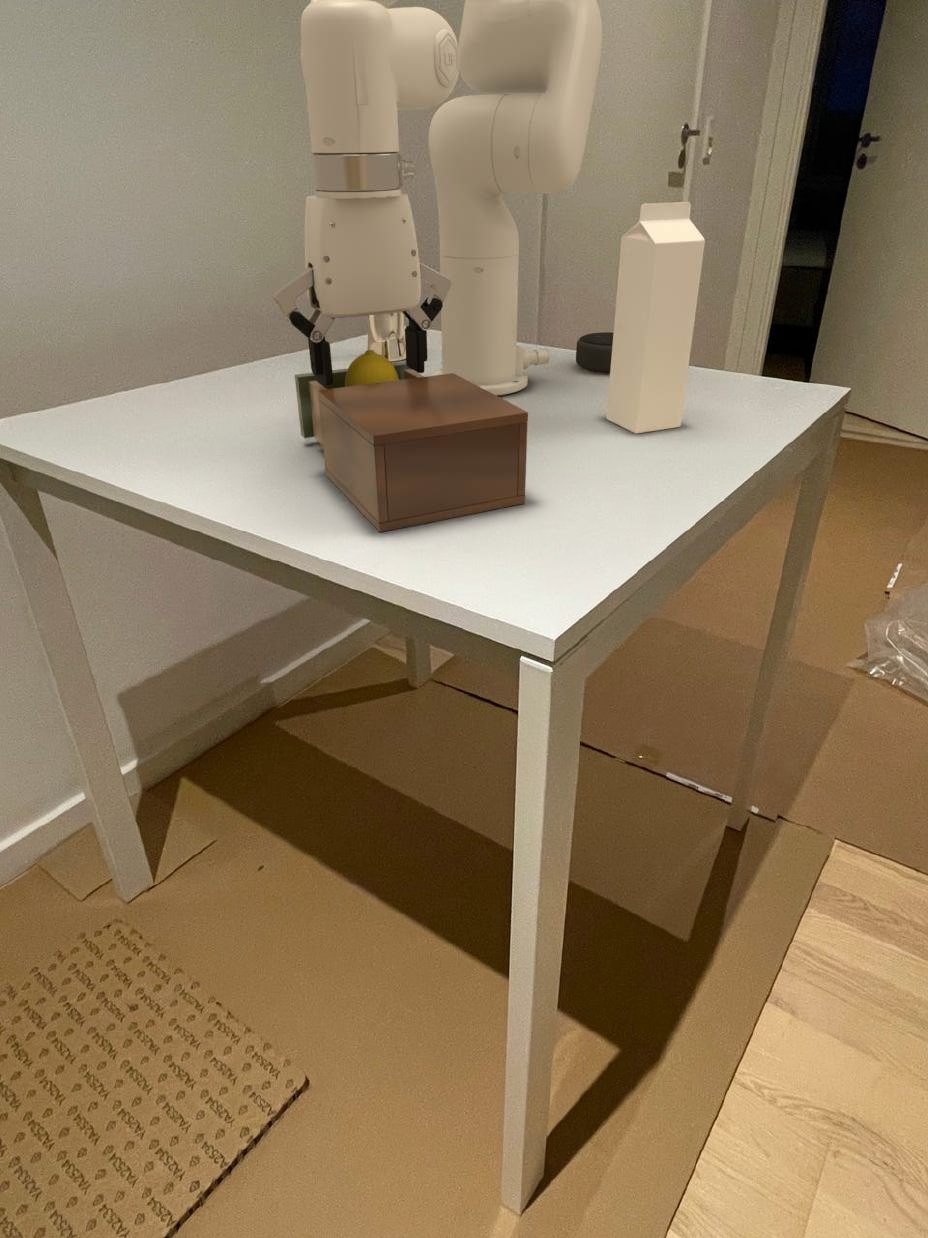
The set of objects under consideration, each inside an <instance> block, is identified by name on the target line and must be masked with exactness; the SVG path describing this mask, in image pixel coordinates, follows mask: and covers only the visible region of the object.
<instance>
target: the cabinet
mask: <svg viewBox="0 0 928 1238" xmlns="http://www.w3.org/2000/svg"><path fill="white" fill-rule="evenodd" d="M318 399H319V410H320V420H321V430H322V440H323V446H322V449H323V460H324V467H325V469H324V471H325V476H326V477H327V478H328V479H329V481H331V482H332V483H333V484H334V486H335V487H336V488H337V489H338V490H339V491H340V492H341V493H342V494H343V495H344V496H345V497H346V498H347V499H348V500H349V501H350V503H352V504H353V506H354V507H355V508H356V509H357V510H358V511H359V512H360V513H361V514H362V516H364V517H365V519H367V520H368V521H369V523H370V524H371V525H372V526H373V527H374V528H375V529H376V530H377V531H378V532H379V533H384V532H388V531H393V530H398V529H403V528H409V527H413V526H418V525H419V526H420V525H424V524H429V523H433V522H438V521H444V520H448V519H454V518H458V517H459V518H460V517H463V516H468V515H474V514H479V513H483V512H489V511H493V510H499V509H504V508H509V507H513V506H518V505H522V504H523V505H525V504H526V481H527V480H526V478H527V477H526V476H527V449H528V422H529V411H527V410H525V409H523V408H521V407H519V406H516V405H515V404H513V403H511V402H509V401H507V400H505V399H504V398H502V397H500V396H499V395H497V396H496V395H494V394H492V393H490V392H488V391H486V390H484V389H482V388H481V387H479V386H477V385H475V384H473V383H471V382H469V381H467V380H465V379H463V378H461V377H460V376H458V375H456V374H454V373H451V374H443V375H435V376H431V375H429V376H428V375H427V376H424V377H420V378H412V379H404V380H396V381H388V382H380V383H372V384H364V385H356V386H349V387H341V388H333V389H325V390H318Z"/></svg>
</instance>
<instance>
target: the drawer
mask: <svg viewBox="0 0 928 1238" xmlns="http://www.w3.org/2000/svg"><path fill="white" fill-rule="evenodd" d="M391 363H392V365H393V366H394V368H395V370H396V372H397V375H398V378H399V380H404V379H412V378H420V377H425V376H424V375H422V374H421V373H418V372H416V371H414V370H412V369H411V368H409V367H407V365H406V361H397V362H391ZM348 368H349V367H348ZM348 368H339V369H332V373H333V383H332V384H331V385H325V384H323V383H322V382H321V381H320V380H318V378H317V375H314V374H313V373H312V372H305V373H297V374H294V383H295V391H296V392H295V393H296V399H297V409H298V416H299V417H298V419H299V426H300V436H302V437H303V439H310V438H314V440H316V441H317V442H318V443H319V444H320V445H321V446H322V447H323V440H322V430H321V420H320V410H319V399H318V390H325V389H333V388H341V387H345V379H346V373H347V370H348Z"/></svg>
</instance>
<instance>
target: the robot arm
mask: <svg viewBox="0 0 928 1238" xmlns="http://www.w3.org/2000/svg"><path fill="white" fill-rule="evenodd" d="M398 1H399V0H310V2H309V4H308V5H307V6H306V7H305V8H304V10H303V11H302V13H301V16H300V17H301V18H300V23H299V24H300V26H299V27H300V40H301V42H300V65H301V70H302V71H301V72H302V76H303V80H304V83H305V84H304V85H305V95H306V105H307V115H308V116H307V117H308V126H309V137H310V148H311V149H310V150H311V153H312V154H311V159H312V169H313V179H314V189H315V195H307V196H306V199H305V209H304V268H305V269H303V270H302V271H301V272H299V273H298V274H297V275H295V276H294V277H293V278H291V279H290V280H288V281H287V282H285V283H284V284H283V285H282V286H280V287H279V288H278V289H276V290H275V291H274V292H273V293H272V298H273V300H274V302H275V303H276V305H277V306H278V308H279V309H280V311H281V312H282V314H283V315H284V317H285V318H286V320H287V321H288V322H289V324H291V325H292V326H293V327H294V328H295V329H297V330H298V331H299V332H300V333H301V334H302V335H303V336H305V338H307V343H308V350H309V362H310V370H311V373H313V374H314V375H317V378H318V380H320V381H321V382H322V383H323V384H325V385H331V384H332V383H333V373H332V370H333V363H332V362H333V361H332V351H331V344H330V342H329V341H327V339H326V334H327V333H328V331H329V330H330V328H331V327H332V324H333V323H334V321H335V319H343V318H355V317H365V316H367V315H377V314H386V313H395V312H402V314H403V315H404V316H405V319H406V320H407V321H408V325H406V326H405V327H404V334H405V347H406V359H405V362H406V365H407V367H409V368H411V369H412V370H413V371H415V372H417V373H419V374H423V373H425V370H426V369H425V362H427V361H428V333H427V332H428V331H429V330H431V328H432V322H433V321H434V320H435V318H436V317H437V316H438V315H439V314H440V326H441V328H440V334H441V335H440V337H441V368H439V369H437V370H435V371H434V372H432V373H431V374H430V376H435V375H443V374H451V373H454V374H456V375H458V376H460V377H461V378H463V379H465V380H467V381H469V382H471V383H473V384H475V385H477V386H479V387H481V388H482V389H484V390H486V391H488V392H490V393H492V394H494V395H496V396H503V395H509V394H513V393H517V392H519V391H522V390H524V389H525V388H526V387H527V386H528V382H529V381H528V380H529V375H528V374H527V373H526V372H525V371H524V370H527V369H529V367H530V366H542V365H547V364H549V363H550V360H551V355H550V351H549V349H547V348H541V349H533V350H531V349H530V348H524V347H521V346H518V345H517V341H518V340H517V339H518V337H517V336H518V307H519V304H518V303H519V302H518V301H519V268H520V267H519V265H520V264H519V263H520V261H519V260H520V258H519V257H520V237H519V235H520V234H519V230H518V227H517V223H516V221H515V220H514V217H513V215H512V214H511V212H510V210H509V209H508V207H507V205H506V203H505V202H504V199H503V198H502V196H501V195H507V194H520V195H521V194H523V195H524V194H525V195H526V194H527V195H549V194H551V195H552V194H560V193H563V192H566V191H567V190H568V189H570V188H571V187H573V185H574V184H575V182H576V180H577V178H578V176H579V173H580V171H581V169H582V168H581V167H582V163H583V159H584V156H585V155H584V154H585V150H586V144H587V140H588V139H587V138H588V134H589V128H590V127H589V126H590V122H591V118H592V117H591V116H592V111H593V105H594V99H595V96H596V95H595V94H596V88H597V83H598V77H599V72H600V65H601V58H602V48H603V23H602V14H601V10H600V7H599V4H598V1H597V0H464V4H463V5H464V6H463V12H462V18H461V24H460V30H459V31H460V32H459V37H458V38H459V39H458V40H457V37H456V34H455V32H454V30H453V29H452V26H451V25H450V23H449V22H448V21H447V20H446V19H445V18H444V17H443V16H442V15H441V14H439V13H438V12H436V11H435V10H432V9H430V8H427V7H422V6H407V7H406V6H405V7H404V6H403V7H393V8H392V7H391V6H392V5H394V4H395V3H397V2H398ZM390 7H391V8H390ZM459 74H460V77H461V79H462V80H463V82H464V83H465V84H466V86H468V87H469V88H470V89H473V91H477V92H480V93H484V94H471V95H463V96H459V97H454V98H453V99H450V100H448V101H447V102H445V101H446V100H447V99H449V96H450V95H451V94H452V92H453V91H454V89H455V87H456V85H457V82H458V78H459ZM442 103H443V104H442ZM440 104H442V105H440ZM438 105H440V106H439V108H437V110H436V112H435V113H434V114H433V117H432V119H431V121H430V125H429V129H428V151H429V159H430V165H431V170H432V175H433V180H434V187H435V195H436V202H437V214H438V215H437V216H438V232H439V272H438V271H437V270H435V269H433V268H431V267H429V266H427V265H426V264H424V263H422V262H420V255H419V247H418V240H417V234H416V228H415V227H416V226H415V222H414V217H413V212H412V208H411V207H412V206H411V203H410V200H409V195H408V193H403V192H402V188H403V187H404V181H405V180H406V179H409V178H411V179H412V178H414V177H415V171H416V170H415V164H414V162H413V161H412V160H405V159H404V158H403V155H402V153H400V138H399V117H398V116H399V115H398V111H423V110H428V109H432V108H436V107H438ZM422 281H424V282H425V283H427V284H429V285H430V291H429V295H428V297H426V298H425V300H424V301H423V303H422V304H421V305H420V302H421V298H422ZM305 292H306V296H307V300H308V304H309V306H310V307H311V308H313V310H312V312H311V313H310V315H309V317H308V318H307V317H305V316H304V314H303V313H301V311H300V310H299V309H298V306H297V305H296V300H297V298H298V297H300V296H301V295H302V294H304V293H305Z"/></svg>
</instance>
